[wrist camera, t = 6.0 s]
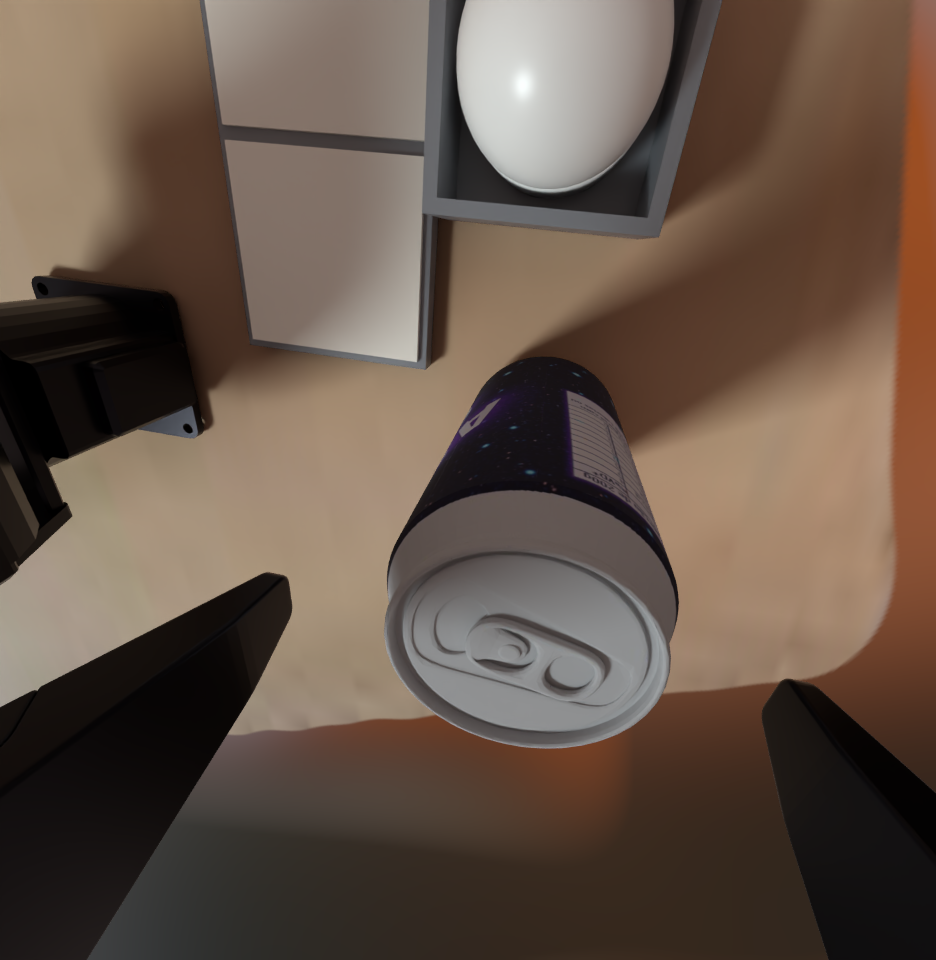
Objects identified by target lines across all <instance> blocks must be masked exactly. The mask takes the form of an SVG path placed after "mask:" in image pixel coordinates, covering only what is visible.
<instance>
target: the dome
mask: <svg viewBox="0 0 936 960" xmlns="http://www.w3.org/2000/svg"><path fill="white" fill-rule="evenodd" d="M673 34H674V0H466V2H465V6H464V9H463V12H462V17H461V22H460V27H459V33H458V42H457V82H458V91H459V97H460V102H461V107H462V110H463V113H464V117H465V120H466V122H467V125H468V127H469V129H470V132H471V134H472V136H473V139H474V140H475V142H476V144H477V145H478V147H479V149H480V150H481V152H482V153H483V154H484V156H485V157H486V158H487V160H488V161H489V162H490V163H491V165H492V166H493V167H494V168H495V169H496V171H497V172H498V173H499V174H500V175H501V176H502V177H503V178H504V179H505V180H506V181H507V182H508V183H509V184H510V185H512V186H513V187H514V188H516V189H518V190H520V191H522V192H523V193H526V194H528V195H531V196H534V197H540V198H562V197H567V196H571V195H574V194H577V193H579V192H582V191H584V190H586V189H588V188H589V187H591V186H593V185H594V184H596V183H597V182H599V181H600V180H601V179H602V178H604V177H605V176H606V175H607V174H608V173H609V172H610V171H611V170H612V169H613V168H614V167H615V166H616V165H617V164H618V162H619V161H620V160H621V159H622V158H623V156H624V155H625V154H626V152H627V151H628V149H629V148H630V147H631V145H632V144H633V142H634V141H635V140H636V138H637V137H638V135H639V134H640V132H641V131H642V129H643V127H644V126H645V124H646V123H647V121H648V119H649V117H650V115H651V113H652V111H653V109H654V107H655V105H656V103H657V100H658V98H659V95H660V93H661V90H662V88H663V85H664V82H665V78H666V75H667V71H668V68H669V63H670V58H671V52H672V46H673Z"/></svg>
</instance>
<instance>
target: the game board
mask: <svg viewBox="0 0 936 960" xmlns="http://www.w3.org/2000/svg"><path fill="white" fill-rule="evenodd" d="M200 6H201V13H202V20H203V27H204V33H205V40H206V47H207V54H208V61H209V67H210V74H211V81H212V88H213V95H214V101H215V108H216V115H217V122H218V129H219V136H220V142H221V149H222V156H223V163H224V170H225V176H226V183H227V190H228V197H229V204H230V210H231V217H232V224H233V231H234V238H235V245H236V251H237V258H238V265H239V272H240V279H241V285H242V292H243V299H244V306H245V313H246V319H247V326H248V333H249V340H250V345H256V346H263V347H270V348H277V349H284V350H291V351H298V352H305V353H312V354H319V355H326V356H333V357H340V358H347V359H354V360H361V361H368V362H375V363H382V364H389V365H396V366H403V367H410V368H417V369H424V370H426V369H427V368H428V367H429V366H430V365H431V350H432V331H433V311H434V291H435V272H436V252H437V232H438V217H435V216H431V215H427V214H423V213H422V197H423V168H424V140H425V111H426V83H427V54H428V26H429V0H200Z"/></svg>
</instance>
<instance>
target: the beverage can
mask: <svg viewBox="0 0 936 960" xmlns="http://www.w3.org/2000/svg"><path fill="white" fill-rule="evenodd" d="M387 589H388V597H389V605H388V608H387V612H386V617H385V628H384V637H385V643H386V649H387V652H388V655H389V658H390V661H391V664H392V666H393V667H394V669H395V671H396V673H397V674H398V676H399V678H400V679H401V681H402V682H403V683H404V685H405V686H406V687H407V688H408V690H409V691H410V692H411V693H412V694H413V695H414V696H415V697H416V698H417V699H418V700H419V701H420V702H421V703H422V704H423V705H424V706H426V707H427V708H428V709H430V710H431V711H432V712H434V713H435V714H436V715H438V716H439V717H441V718H443V719H444V720H446V721H448V722H449V723H451V724H453V725H455V726H457V727H459V728H461V729H463V730H465V731H467V732H469V733H472V734H475V735H477V736H480V737H483V738H486V739H489V740H493V741H497V742H501V743H504V744H510V745H516V746H523V747H533V748H566V747H573V746H581V745H586V744H589V743H593V742H598V741H601V740H604V739H606V738H609V737H612V736H614V735H617V734H619V733H620V732H622V731H624V730H626V729H627V728H629V727H631V726H633V725H634V724H635V723H636V722H638V721H639V720H640V719H641V718H643V717H644V716H645V715H646V714H647V713H648V712H649V711H650V710H651V709H652V708H653V706H654V705H655V704H656V703H657V702H658V700H659V698H660V696H661V695H662V693H663V691H664V689H665V687H666V683H667V680H668V676H669V673H670V662H671V654H670V646H669V643H670V640H671V638H672V635H673V632H674V629H675V625H676V621H677V616H678V605H679V600H678V590H677V584H676V580H675V577H674V574H673V571H672V568H671V565H670V562H669V559H668V557H667V554H666V551H665V548H664V545H663V542H662V540H661V537H660V534H659V531H658V528H657V525H656V523H655V520H654V517H653V514H652V511H651V509H650V506H649V503H648V500H647V497H646V494H645V492H644V489H643V486H642V483H641V480H640V477H639V475H638V472H637V469H636V466H635V463H634V461H633V458H632V455H631V452H630V449H629V446H628V444H627V441H626V438H625V435H624V432H623V429H622V427H621V424H620V421H619V418H618V415H617V413H616V410H615V407H614V404H613V401H612V399H611V397H610V395H609V393H608V391H607V390H606V388H605V387H604V385H603V384H602V383H601V382H600V381H599V379H598V378H597V377H595V376H594V375H593V374H592V373H591V372H589V371H588V370H587V369H585V368H584V367H582V366H580V365H578V364H576V363H573V362H571V361H568V360H564V359H561V358H555V357H534V358H528V359H523V360H520V361H517V362H515V363H512V364H510V365H508V366H506V367H504V368H503V369H501V370H500V371H498V372H497V373H496V374H495V375H493V376H492V377H491V378H490V379H489V380H488V381H487V382H486V384H485V385H484V386H483V387H482V389H481V390H480V392H479V394H478V395H477V397H476V399H475V401H474V403H473V404H472V406H471V408H470V410H469V412H468V413H467V415H466V417H465V419H464V421H463V422H462V424H461V426H460V428H459V430H458V431H457V433H456V435H455V437H454V439H453V441H452V442H451V444H450V446H449V448H448V450H447V451H446V453H445V455H444V457H443V459H442V460H441V462H440V464H439V466H438V468H437V469H436V471H435V473H434V475H433V477H432V478H431V480H430V482H429V484H428V486H427V487H426V489H425V491H424V493H423V495H422V497H421V498H420V500H419V502H418V504H417V506H416V507H415V509H414V511H413V513H412V515H411V516H410V518H409V520H408V522H407V524H406V525H405V527H404V529H403V531H402V533H401V534H400V536H399V538H398V540H397V542H396V544H395V546H394V548H393V551H392V554H391V557H390V561H389V565H388V572H387Z"/></svg>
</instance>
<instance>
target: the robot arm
mask: <svg viewBox="0 0 936 960" xmlns="http://www.w3.org/2000/svg"><path fill="white" fill-rule="evenodd" d="M32 287H33V290H34V293H35V296H36V299H33V300H23V301H13V302H3V303H0V585H1V584H3V583H4V582H6V581H7V580H9V579H10V578H11V577H12V576H13V575H14V574H15V573H16V572H17V571H18V567H19V566H20V565H21V564H22V563H23V562H24V561H25V560H26V559H27V558H28V557H29V556H30V555H31V554H33V553H34V552H35V551H36V550H37V549H38V548H39V547H40V546H41V545H42V544H43V543H44V542H45V541H46V540H48V539H49V538H50V537H51V536H52V535H53V534H54V533H55V532H56V531H57V530H58V529H59V528H60V527H61V526H63V525H64V524H65V523H66V522H67V521H68V520H69V519H70V518H71V517H72V513H71V511H70V509H69V506H68V504H67V503H66V502H63V500H62V497H61V495H60V493H59V490H58V488H57V486H56V483H55V481H54V478H53V476H52V474H51V471H50V469H49V467H51V466H53V465H55V464H58V463H60V462H62V461H65V460H67V459H69V458H72V457H74V456H76V455H78V454H81V453H83V452H85V451H88V450H90V449H92V448H95V447H97V446H99V445H102V444H104V443H106V442H109V441H111V440H113V439H115V438H118V437H120V436H123V435H126V434H128V433H130V432H133V431H135V430H137V429H139V430H145V431H151V432H157V433H163V434H168V435H174V436H180V437H186V438H195V437H197V436H199V435H201V434H202V433H203V431H204V427H203V423H202V418H201V413H200V409H199V404H198V400H197V395H196V390H195V386H194V381H193V376H192V372H191V367H190V363H189V358H188V353H187V349H186V344H185V340H184V335H183V330H182V326H181V321H180V317H179V312H178V307H177V304H176V301H175V299H174V298H173V296H172V295H171V294H169V293H168V292H166V291H162V290H154V289H146V288H139V287H131V286H123V285H116V284H108V283H101V282H93V281H85V280H78V279H70V278H62V277H55V276H35V277H34V278H33V279H32ZM161 301H162V302H163V304H164V308H163V307H162V305H161ZM189 425H190V426H191V427H192V428H191V427H190V426H189ZM291 613H292V600H291V593H290V586H289V581H288V578H287V577H286V576H284V575H280V574H275V573H270V572H266V573H263V574H260V575H258V576H257V577H255V578H253V579H251V580H249V581H247V582H245V583H243V584H241V585H239V586H237V587H235V588H233V589H231V590H229V591H227V592H225V593H223V594H221V595H219V596H217V597H215V598H213V599H211V600H210V601H208V602H206V603H204V604H202V605H200V606H198V607H196V608H194V609H192V610H190V611H188V612H186V613H184V614H182V615H180V616H178V617H176V618H174V619H172V620H170V621H168V622H166V623H164V624H163V625H161V626H159V627H157V628H155V629H153V630H151V631H149V632H147V633H145V634H143V635H141V636H139V637H137V638H135V639H133V640H131V641H129V642H127V643H125V644H123V645H121V646H119V647H117V648H116V649H114V650H112V651H110V652H108V653H106V654H104V655H102V656H100V657H98V658H96V659H94V660H92V661H90V662H88V663H86V664H84V665H82V666H80V667H78V668H76V669H74V670H72V671H70V672H69V673H67V674H65V675H63V676H61V677H59V678H57V679H55V680H53V681H51V682H49V683H47V684H45V685H43V686H41V687H40V688H39V689H38V691H36V690H34V691H31V692H29V693H27V694H25V695H23V696H21V697H19V698H17V699H15V700H13V701H11V702H9V703H8V704H6V705H4V706H2V707H0V960H87V958H88V957H89V955H90V954H91V952H92V950H93V949H94V947H95V946H96V944H97V942H98V941H99V939H100V938H101V936H102V934H103V933H104V931H105V930H106V928H107V926H108V925H109V923H110V922H111V920H112V918H113V917H114V915H115V914H116V912H117V910H118V909H119V907H120V906H121V904H122V902H123V901H124V899H125V898H126V896H127V894H128V893H129V891H130V890H131V888H132V886H133V885H134V883H135V881H136V880H137V878H138V877H139V875H140V873H141V872H142V870H143V869H144V867H145V865H146V864H147V862H148V861H149V859H150V857H151V856H152V854H153V853H154V851H155V849H156V848H157V846H158V845H159V843H160V841H161V840H162V838H163V837H164V835H165V833H166V832H167V830H168V829H169V827H170V825H171V824H172V822H173V821H174V819H175V817H176V816H177V814H178V813H179V811H180V809H181V808H182V806H183V804H184V803H185V801H186V800H187V798H188V797H189V795H190V793H191V792H192V790H193V788H194V786H195V785H196V784H197V782H198V780H199V779H200V777H201V776H202V774H203V772H204V771H205V769H206V768H207V766H208V765H209V763H210V761H211V760H212V758H213V756H214V755H215V753H216V752H217V750H218V748H219V747H220V745H221V744H222V742H223V740H224V739H225V737H226V736H227V734H228V732H229V731H230V729H231V728H232V726H233V724H234V723H235V721H236V720H237V718H238V716H239V715H240V713H241V712H242V710H243V708H244V707H245V705H246V703H247V702H248V700H249V698H250V697H251V695H252V693H253V691H254V690H255V688H256V686H257V684H258V682H259V680H260V678H261V676H262V674H263V672H264V670H265V668H266V666H267V664H268V662H269V660H270V658H271V656H272V654H273V652H274V650H275V648H276V646H277V644H278V642H279V640H280V637H281V635H282V633H283V631H284V629H285V627H286V625H287V623H288V621H289V619H290V617H291ZM762 723H763V728H764V733H765V737H766V742H767V746H768V751H769V756H770V760H771V764H772V769H773V774H774V778H775V783H776V787H777V792H778V797H779V801H780V805H781V809H782V813H783V817H784V821H785V824H786V827H787V831H788V834H789V837H790V841H791V844H792V847H793V850H794V853H795V856H796V859H797V863H798V866H799V869H800V872H801V875H802V878H803V881H804V884H805V887H806V891H807V894H808V897H809V900H810V903H811V906H812V909H813V913H814V916H815V919H816V922H817V925H818V928H819V931H820V934H821V937H822V941H823V943H824V947H825V949H826V953H827V956H828V959H829V960H936V793H935V792H934V791H933V790H932V789H931V788H930V787H929V786H927V785H926V784H925V783H924V782H923V781H922V780H921V779H920V778H918V777H917V776H916V775H915V774H914V773H913V772H912V771H911V770H909V769H908V768H907V767H906V766H905V765H904V764H903V763H902V762H901V761H899V760H898V759H897V758H896V757H895V756H894V755H893V754H892V753H890V752H889V751H888V750H887V749H886V748H885V747H884V746H883V745H881V744H880V743H879V742H878V741H877V740H876V739H875V738H874V737H873V736H871V735H870V734H869V733H868V732H867V731H866V730H865V729H864V728H862V727H861V726H860V725H859V724H858V723H857V722H856V721H854V720H853V719H852V718H851V717H850V716H849V715H848V714H847V713H845V712H844V711H843V710H842V709H841V708H840V707H839V706H838V705H837V704H835V703H834V702H833V701H832V700H831V699H830V698H829V697H828V696H826V695H825V694H824V693H823V692H822V691H821V690H820V689H818V688H817V687H816V686H815V685H813V684H811V683H808V682H803V681H798V680H793V679H784V680H782V681H781V682H780V683H779V684H778V686H777V687H776V689H775V690H774V692H773V693H772V695H771V696H770V698H769V699H768V701H767V702H766V703H765V705H764V707H763V710H762Z"/></svg>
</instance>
